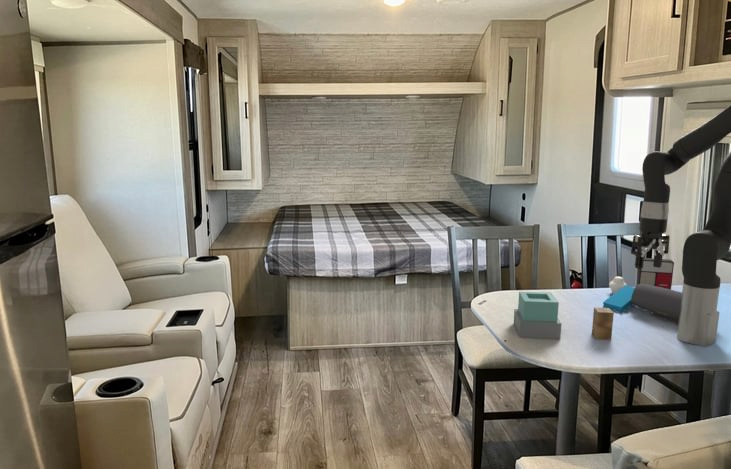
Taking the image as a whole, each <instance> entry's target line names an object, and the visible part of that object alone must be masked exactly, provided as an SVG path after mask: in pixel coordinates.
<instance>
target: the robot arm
mask: <svg viewBox="0 0 731 469" xmlns="http://www.w3.org/2000/svg"><path fill="white" fill-rule="evenodd" d="M729 134H731V104H730V105H728V106H727V107H725V109H723V110H722V111H721V112H719V113H718V114H716V115H715V116H713V117H712V118H710V119H709V120H707V121H706V122H704V123H702V124H701V125H700V126H698V127H696V128H695V129H693V130H691V131H690V132H688V133H686V134H684V135H683V136H681V137H679V138H677V140H675V141H674V142H673V144H672V147H671V148H670V149H668V150H666V151H651V152H649V153H647V155H646V156H645V158H644V160H643V163H642V166H641V167H642V169H641V170H642V177H643V178H642V179H643V185H644V192H643V200H642V201H643V202H642V205H641V209H640V219H639V228H638V229H639V230H638V231H640V232H641V235H636V234H634V235H633V237H632V245H631V250H630V253H631V255H634V256H635V262H634V268H636V269H642V268H643V262H644V258H645V255H646V254H647V253H648V252H649V251H650V250H652V251H653V253H654V255H653V256H654V257H653V259H654V264H653V266H654V267H657V268H660V267H661V264H662V259H663V257H664V256H665V255H666V254H668V253H669V251H670V250H669V249H670V248H669V247H670V235H669V234H666V233H667V226H668V219H669V212H670V211H669V210H670V209H669V206H670V204H669V202H670V195H671V187H670V185H669V184H668V183H666V177H665V176H669V175H670V174H673V173H676V172H677V171H679V170H680V169H681V168H683V167H684V166H686V164H687V163H689V162H690V161H691V160H693V159H694V158H696V157H698V156H700V155H702V154H704V153H705V152H707V151H709V150H710V149H712V148H713V147H715V146H716V145H718V144H719V143H720V142H721V141H723V139H725V138H726V137H727V136H728V135H729ZM730 248H731V150H730V151H729V152H728V154H727V156H725V159H723V162H722V164H721V165H720V168H719V170H718V172H717V176H716V178H715V180H714V183H713V187H712V208H711V211H710V214H709V217H708V220H707V222H706V224H705V225H704V227H703V229H702V230H701V231H698V232H693V233H691V234H690V235H688V236H687V238H686V240H685V241H684V244H683V249H682V259H681V264H682V265H681V273H682V277H683V282H682V292H681V293H682V298H681V306H680V315H679V323H677V330H676V331H677V334H676V337H677V339H679V341H681V342H684V343H687V344H691V345H699V346H703V347H709V346H710V345H713V344H714V343H716V341H717V335H718V326H719V319H720V311H718V310H717V309H718V302H719V294H720V289H721V282H722V281H721V277H720V276H719V275H717V263H718V261H719V260H722V259H723V258H724V257H725V256H726V255H727V254H728V253H729V251H730Z"/></svg>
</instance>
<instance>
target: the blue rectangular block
mask: <svg viewBox="0 0 731 469" xmlns="http://www.w3.org/2000/svg"><path fill="white" fill-rule="evenodd" d="M635 287H636V286H635ZM635 287H634V286H631V285H625V286H624V287H623V288H621V289H620V290H619V291H617V292H616V293H615V294H613V293H612V295H611V296H609V297H608V298H606V299H605V300H604V301H603V302H602V304H603V307H602V308H609V309H610V310H611V311H615V312H619V313H624V312H625V311H626V310H628V309H629V308H631V307H632V306H634V305H633V304H632V300H631V297H632V294H633V291H634V289H635Z"/></svg>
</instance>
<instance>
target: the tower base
mask: <svg viewBox="0 0 731 469" xmlns="http://www.w3.org/2000/svg"><path fill="white" fill-rule="evenodd" d="M559 304H560V303H559V300H557V298H556V296H555V295H554V294H553V293H552V292H544V291H543V292H541V291H538V292H537V291H518V304H517V305H518V306H517V308H514V310H513V311H514V312H513V325H514V328H515V330H516V332H517V335H518V337H519V338H523V339H526V338H528V339H544V340H545V339H546V340H547V339H549V340H561V335H562V334H561V333H562V322H561V320H560V319H559V316H558V315H559Z"/></svg>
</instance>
